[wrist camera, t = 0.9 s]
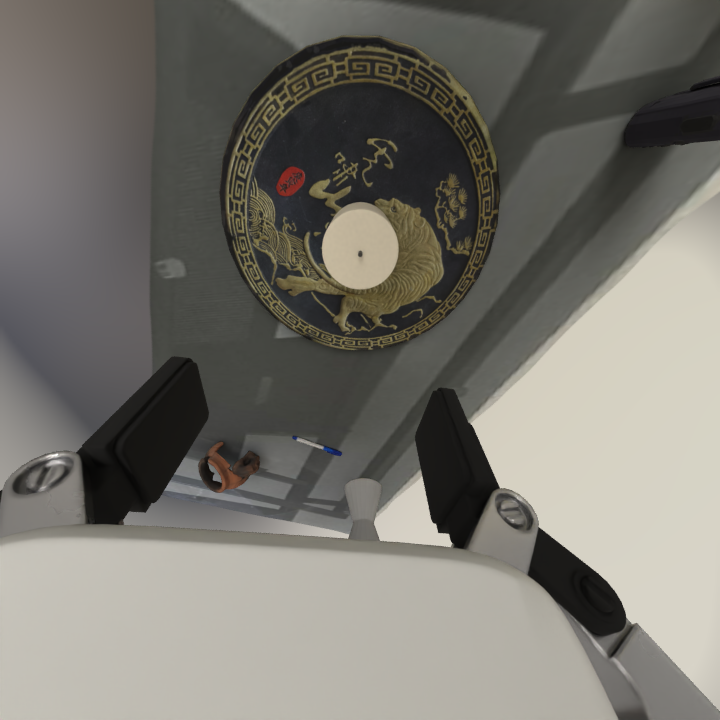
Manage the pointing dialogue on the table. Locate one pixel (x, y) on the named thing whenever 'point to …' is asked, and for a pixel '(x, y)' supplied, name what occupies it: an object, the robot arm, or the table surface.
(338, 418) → the table surface
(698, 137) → the two-way radio
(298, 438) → the ballpoint pen
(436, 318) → the decorative plate
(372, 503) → the lava lamp
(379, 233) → the candle
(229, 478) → the pottery mug
